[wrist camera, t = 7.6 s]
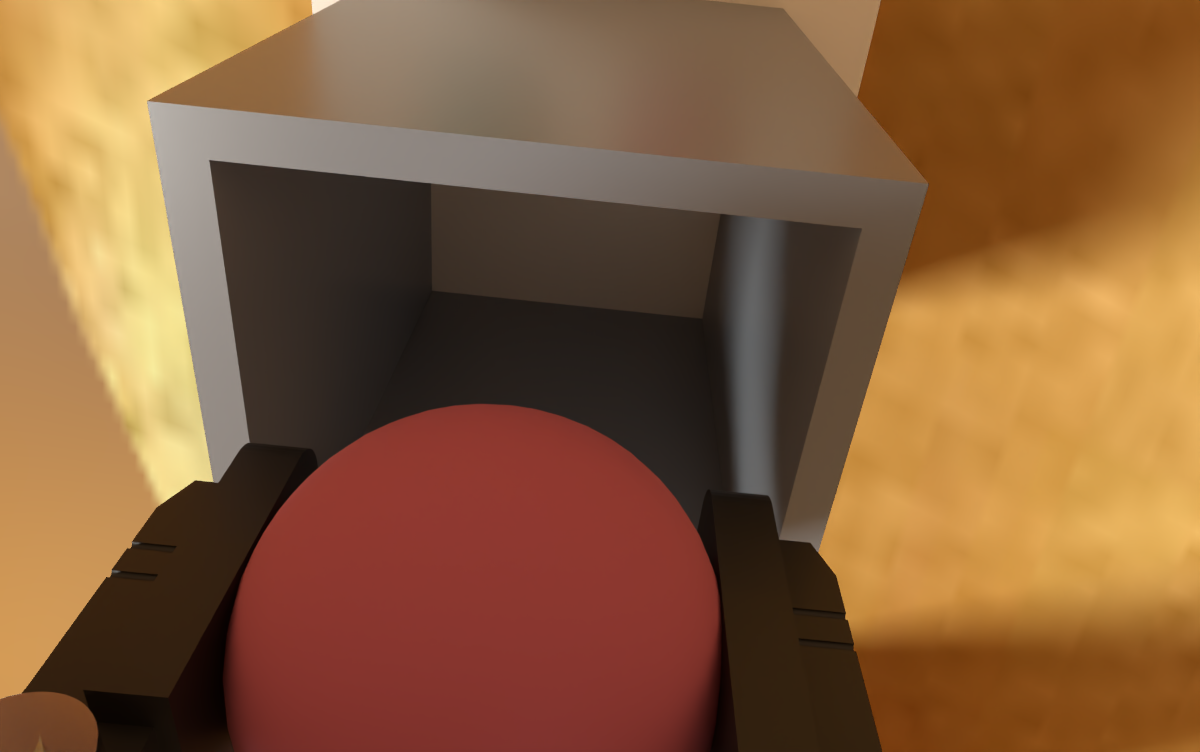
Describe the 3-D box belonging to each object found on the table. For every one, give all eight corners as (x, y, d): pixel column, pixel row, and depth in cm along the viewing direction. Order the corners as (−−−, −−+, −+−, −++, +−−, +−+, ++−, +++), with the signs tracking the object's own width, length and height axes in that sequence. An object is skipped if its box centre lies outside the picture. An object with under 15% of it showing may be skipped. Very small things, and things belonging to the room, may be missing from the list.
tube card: (967, -384, 17) (1537, -781, 6) (792, 343, 25) (902, 715, 14) (286, -462, 17) (-362, -1010, 6) (339, 296, 25) (110, 637, 14)
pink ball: (743, 342, 10) (819, 716, 6) (680, 644, 13) (701, 1056, 8) (303, 297, 10) (46, 644, 6) (332, 610, 12) (172, 1009, 8)
